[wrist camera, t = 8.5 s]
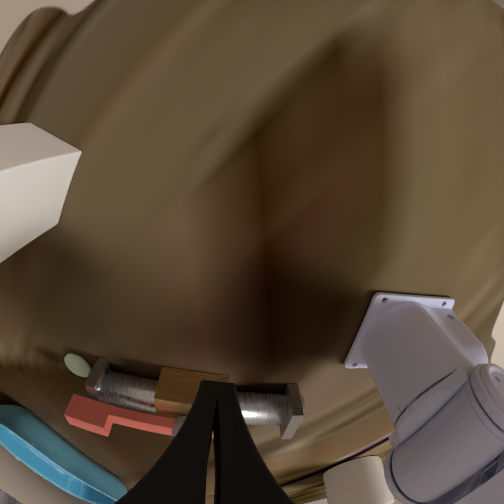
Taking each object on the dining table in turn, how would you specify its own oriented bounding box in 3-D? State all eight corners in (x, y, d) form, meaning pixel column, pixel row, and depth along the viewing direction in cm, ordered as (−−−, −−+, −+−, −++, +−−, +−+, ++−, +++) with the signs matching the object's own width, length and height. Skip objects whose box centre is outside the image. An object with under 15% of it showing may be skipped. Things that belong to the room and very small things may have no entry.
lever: (206, 418, 20) (204, 444, 18) (205, 433, 21) (203, 458, 19) (72, 389, 19) (61, 410, 17) (80, 406, 20) (71, 427, 18)
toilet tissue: (373, 449, 33) (389, 499, 24) (386, 463, 37) (399, 504, 28) (312, 472, 35) (321, 521, 26) (336, 483, 39) (344, 523, 30)
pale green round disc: (87, 357, 23) (86, 359, 22) (94, 378, 24) (93, 380, 24) (62, 349, 22) (61, 351, 22) (69, 370, 24) (68, 372, 23)
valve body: (304, 379, 24) (311, 411, 21) (290, 412, 26) (294, 441, 23) (93, 351, 22) (78, 379, 19) (103, 387, 25) (92, 413, 21)
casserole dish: (-24, 387, 29) (-38, 410, 23) (13, 381, 26) (-7, 414, 20) (90, 482, 43) (84, 503, 36) (154, 490, 40) (150, 516, 34)
